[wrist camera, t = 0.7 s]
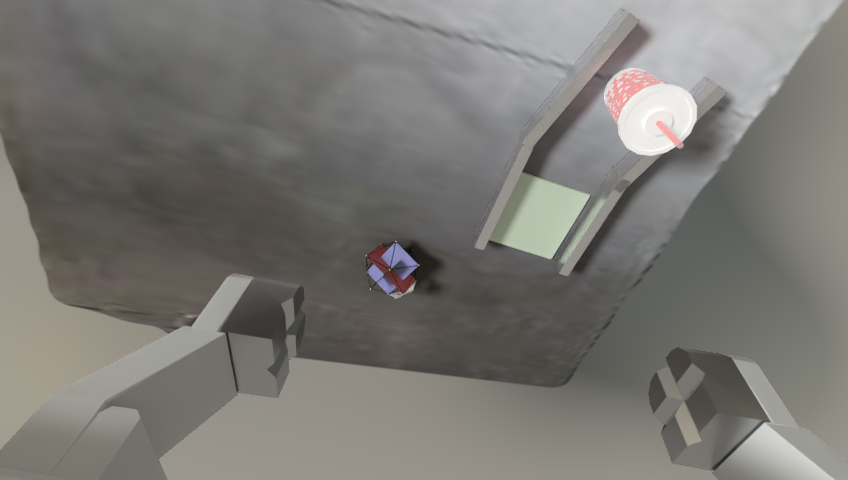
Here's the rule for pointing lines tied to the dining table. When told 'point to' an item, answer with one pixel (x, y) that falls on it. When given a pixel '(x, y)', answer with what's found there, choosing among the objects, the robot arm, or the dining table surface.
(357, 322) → the dining table surface
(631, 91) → the beverage cup
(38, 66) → the dining table surface
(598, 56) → the rail corridor
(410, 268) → the geometric puzzle
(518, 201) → the pad
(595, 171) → the dining table surface
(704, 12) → the dining table surface
